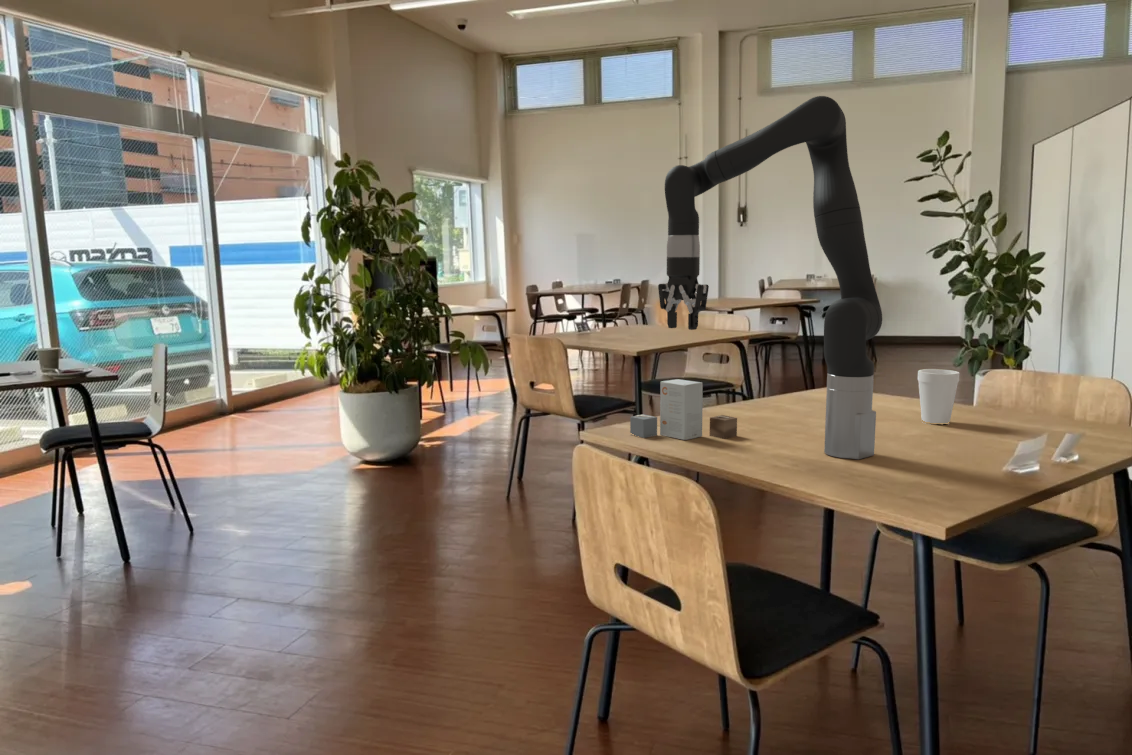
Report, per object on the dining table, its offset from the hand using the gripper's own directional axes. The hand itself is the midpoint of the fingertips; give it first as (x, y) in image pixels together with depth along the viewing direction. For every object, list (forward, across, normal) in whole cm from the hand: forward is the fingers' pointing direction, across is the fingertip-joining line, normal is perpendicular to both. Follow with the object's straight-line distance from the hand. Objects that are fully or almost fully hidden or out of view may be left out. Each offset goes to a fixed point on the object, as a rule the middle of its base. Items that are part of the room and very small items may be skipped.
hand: (682, 328), depth 188 cm
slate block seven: (+26, +6, +6) cm, 27 cm away
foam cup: (+26, -32, -60) cm, 72 cm away
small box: (+26, 0, 0) cm, 26 cm away
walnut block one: (+26, -6, -8) cm, 27 cm away
